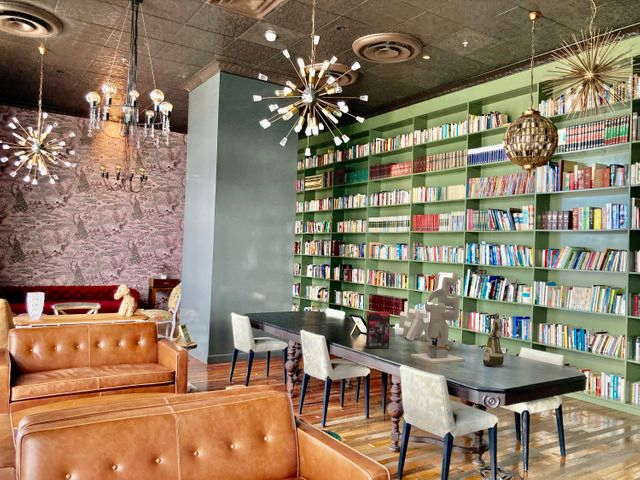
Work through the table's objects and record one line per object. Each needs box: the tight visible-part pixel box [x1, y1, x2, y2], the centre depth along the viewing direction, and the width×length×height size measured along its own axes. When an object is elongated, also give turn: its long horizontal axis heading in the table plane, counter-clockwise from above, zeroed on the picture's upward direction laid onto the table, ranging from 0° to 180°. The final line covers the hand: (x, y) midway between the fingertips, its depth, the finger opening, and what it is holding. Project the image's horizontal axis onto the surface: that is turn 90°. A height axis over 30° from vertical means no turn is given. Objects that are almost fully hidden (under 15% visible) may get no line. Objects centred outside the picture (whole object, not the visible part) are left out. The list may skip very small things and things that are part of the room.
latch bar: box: [426, 344, 450, 350], centre depth 350 cm, size 18×3×3 cm, turn 117°
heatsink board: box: [410, 344, 466, 365], centre depth 350 cm, size 28×24×10 cm
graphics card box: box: [365, 310, 391, 349], centre depth 381 cm, size 17×7×27 cm, turn 101°
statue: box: [482, 312, 505, 367], centre depth 336 cm, size 16×11×35 cm, turn 118°
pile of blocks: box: [398, 307, 432, 342], centre depth 429 cm, size 35×30×35 cm
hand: (434, 347), depth 352 cm, fingers closed
